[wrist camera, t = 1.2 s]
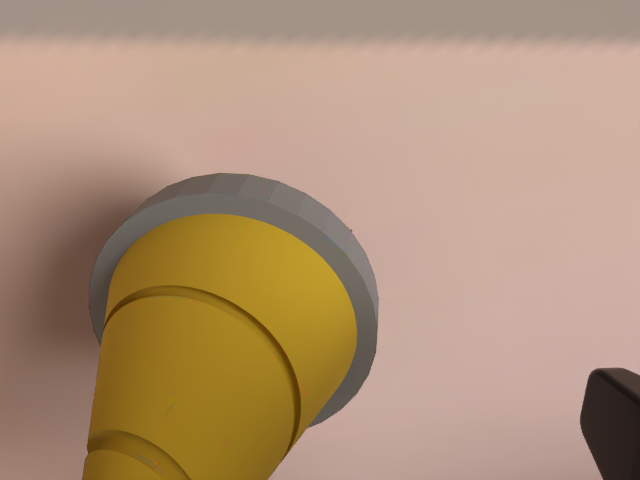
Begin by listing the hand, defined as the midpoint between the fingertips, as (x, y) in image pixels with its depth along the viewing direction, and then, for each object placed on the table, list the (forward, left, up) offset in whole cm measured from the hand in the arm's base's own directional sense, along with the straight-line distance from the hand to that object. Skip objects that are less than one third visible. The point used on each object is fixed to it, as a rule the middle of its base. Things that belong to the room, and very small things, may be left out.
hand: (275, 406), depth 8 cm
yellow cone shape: (0, 0, -7) cm, 7 cm away
